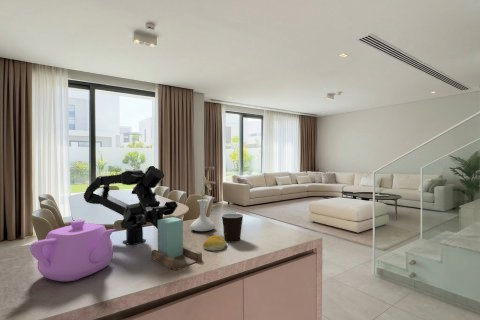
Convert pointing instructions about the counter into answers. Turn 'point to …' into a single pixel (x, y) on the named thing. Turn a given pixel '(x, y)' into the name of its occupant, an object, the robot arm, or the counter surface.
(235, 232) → the coffee mug
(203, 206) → the flower in vase
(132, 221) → the robot arm
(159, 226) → the teal block
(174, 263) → the walnut chute
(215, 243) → the bread roll
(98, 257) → the teapot
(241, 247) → the counter surface
